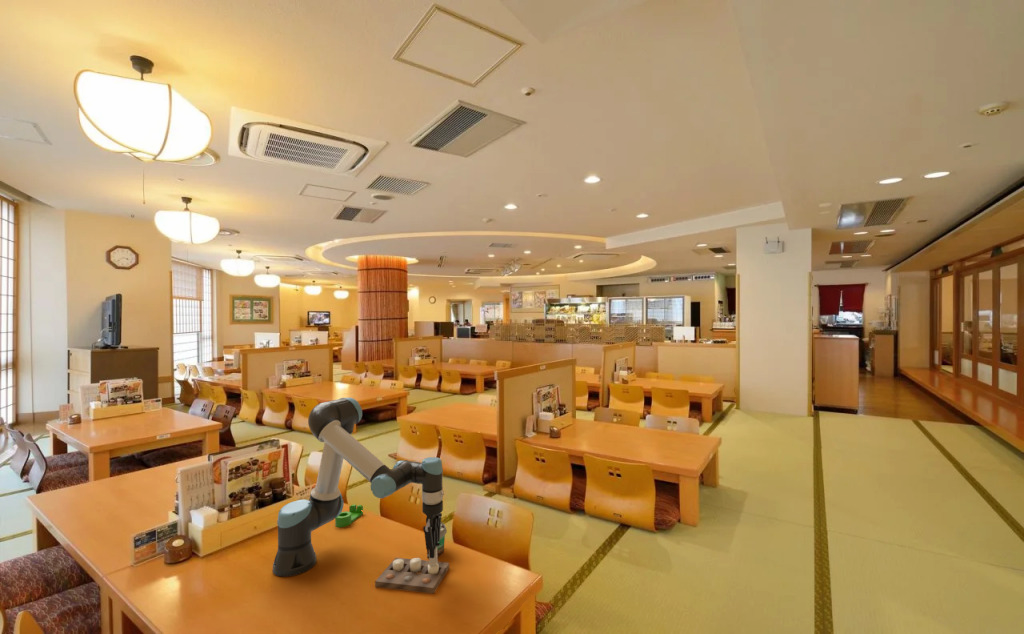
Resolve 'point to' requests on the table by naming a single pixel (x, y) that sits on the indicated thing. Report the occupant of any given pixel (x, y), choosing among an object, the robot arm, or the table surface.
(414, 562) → the button mid
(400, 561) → the button left
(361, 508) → the green ring bracket
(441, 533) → the food container
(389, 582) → the board
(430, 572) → the button right
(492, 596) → the table surface
